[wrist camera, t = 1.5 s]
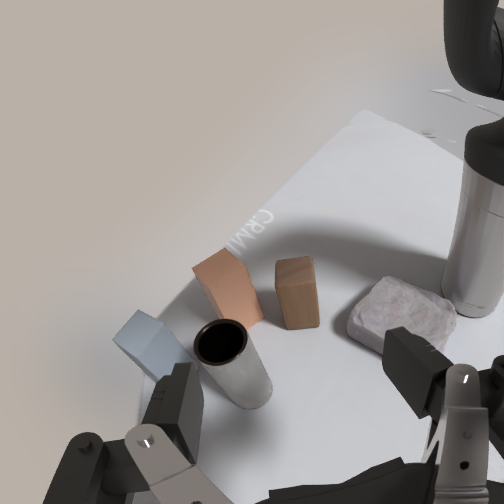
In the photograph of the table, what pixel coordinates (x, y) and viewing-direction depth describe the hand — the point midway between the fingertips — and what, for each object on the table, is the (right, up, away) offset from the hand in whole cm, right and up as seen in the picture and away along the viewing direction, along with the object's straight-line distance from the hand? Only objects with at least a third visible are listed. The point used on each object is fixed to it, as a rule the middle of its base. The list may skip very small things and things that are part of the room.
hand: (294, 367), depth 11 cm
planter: (-2, -10, +17) cm, 20 cm away
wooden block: (+4, -3, +23) cm, 24 cm away
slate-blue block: (-11, -10, +20) cm, 25 cm away
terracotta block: (-3, -4, +25) cm, 26 cm away
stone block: (+16, -4, +18) cm, 24 cm away
